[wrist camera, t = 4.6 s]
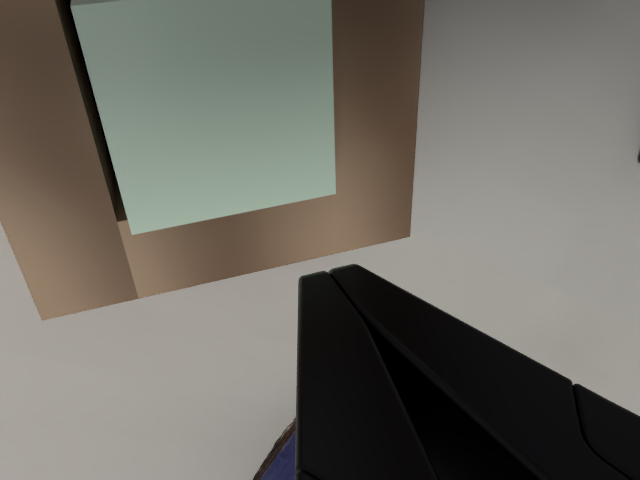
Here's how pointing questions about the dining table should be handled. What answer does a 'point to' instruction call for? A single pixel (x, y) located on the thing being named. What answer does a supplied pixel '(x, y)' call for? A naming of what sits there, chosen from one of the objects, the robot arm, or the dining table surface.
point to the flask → (281, 458)
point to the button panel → (209, 235)
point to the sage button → (212, 103)
